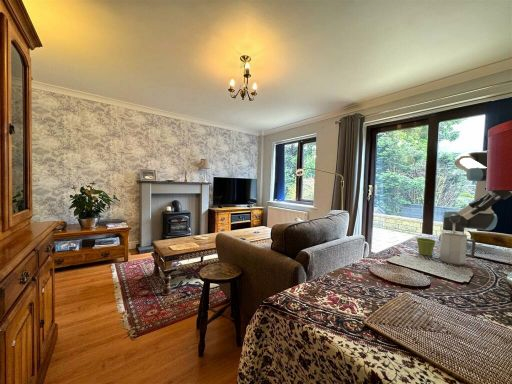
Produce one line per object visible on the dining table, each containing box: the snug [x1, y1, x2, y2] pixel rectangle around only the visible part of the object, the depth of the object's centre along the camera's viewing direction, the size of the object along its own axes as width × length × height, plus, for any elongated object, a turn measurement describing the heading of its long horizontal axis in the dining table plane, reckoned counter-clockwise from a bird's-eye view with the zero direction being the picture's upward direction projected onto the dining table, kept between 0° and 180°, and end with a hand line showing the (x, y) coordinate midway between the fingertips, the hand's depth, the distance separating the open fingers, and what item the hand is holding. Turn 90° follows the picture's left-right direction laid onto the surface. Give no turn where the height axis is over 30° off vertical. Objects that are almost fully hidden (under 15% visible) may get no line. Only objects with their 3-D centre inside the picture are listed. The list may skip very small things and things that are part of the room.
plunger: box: [449, 215, 460, 233], centre depth 118 cm, size 7×7×21 cm
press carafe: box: [438, 229, 476, 266], centre depth 117 cm, size 11×14×16 cm
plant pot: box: [415, 237, 437, 257], centre depth 129 cm, size 9×9×9 cm
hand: (461, 216), depth 116 cm, fingers open, 13 cm apart
